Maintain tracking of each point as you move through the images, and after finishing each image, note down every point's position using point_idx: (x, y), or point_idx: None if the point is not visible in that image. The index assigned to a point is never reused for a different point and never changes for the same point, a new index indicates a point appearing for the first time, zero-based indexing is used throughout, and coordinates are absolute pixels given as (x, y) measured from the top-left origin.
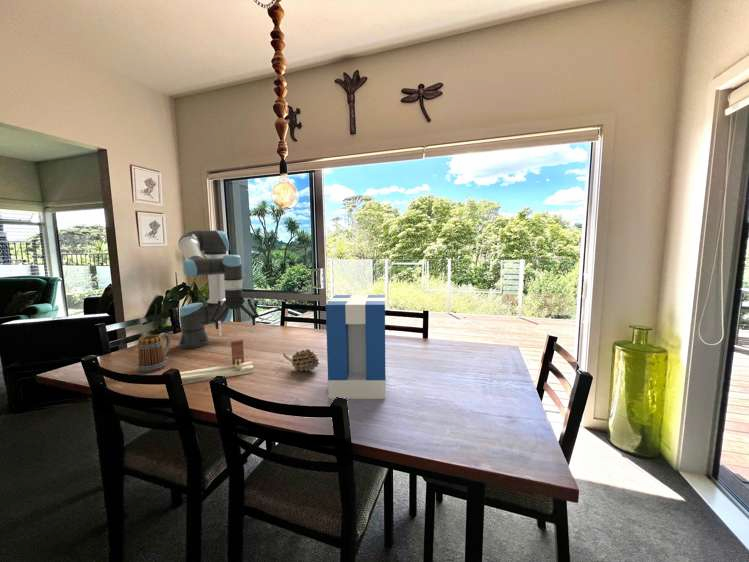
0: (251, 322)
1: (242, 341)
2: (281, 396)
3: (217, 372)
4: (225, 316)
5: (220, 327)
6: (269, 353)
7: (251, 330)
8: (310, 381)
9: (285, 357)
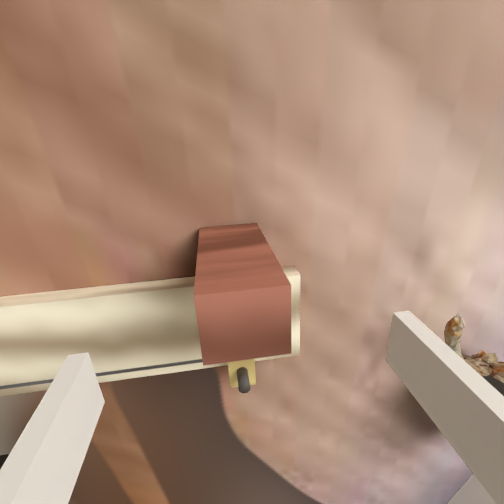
0: (478, 468)
1: (287, 351)
2: (350, 494)
3: (151, 361)
4: None
5: (57, 482)
6: (398, 103)
7: (403, 378)
8: (442, 439)
9: (446, 340)
